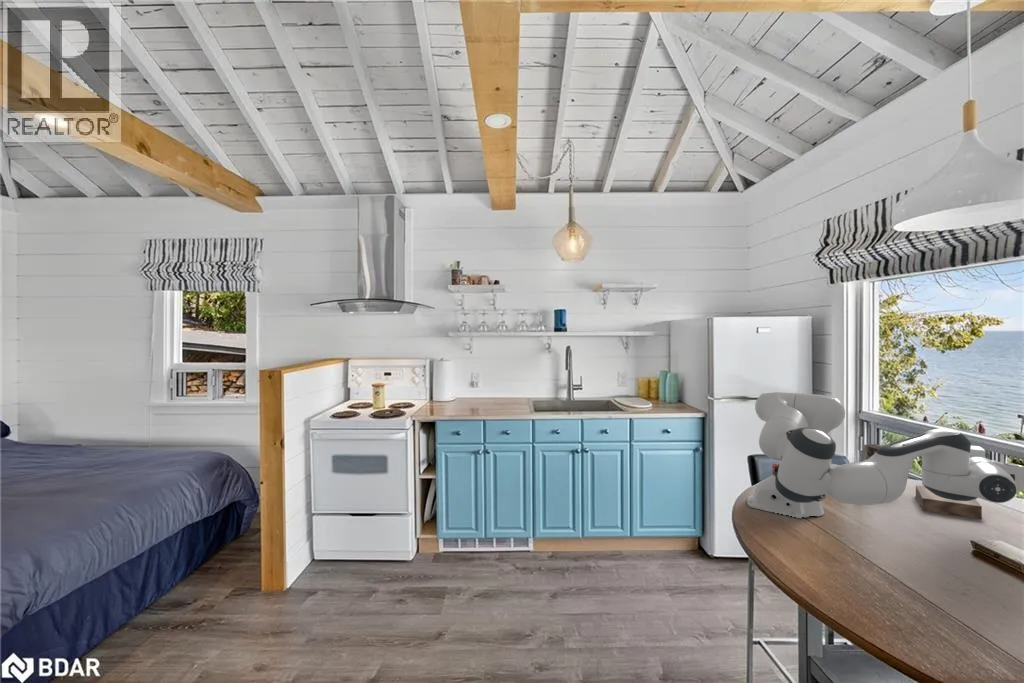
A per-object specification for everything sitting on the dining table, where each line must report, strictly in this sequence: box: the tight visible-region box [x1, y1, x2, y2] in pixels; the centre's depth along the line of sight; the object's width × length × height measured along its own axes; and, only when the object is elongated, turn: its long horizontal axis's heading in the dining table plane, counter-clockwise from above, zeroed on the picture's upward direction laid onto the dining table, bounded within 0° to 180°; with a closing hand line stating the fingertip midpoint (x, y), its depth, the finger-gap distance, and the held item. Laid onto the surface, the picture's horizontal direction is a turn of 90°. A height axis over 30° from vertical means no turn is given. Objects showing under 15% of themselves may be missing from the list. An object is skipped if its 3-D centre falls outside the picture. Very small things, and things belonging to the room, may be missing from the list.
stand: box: [915, 484, 983, 520], centre depth 157 cm, size 14×16×4 cm
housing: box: [969, 445, 986, 458], centre depth 141 cm, size 5×6×12 cm
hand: (969, 462), depth 143 cm, fingers closed on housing, 5 cm apart
